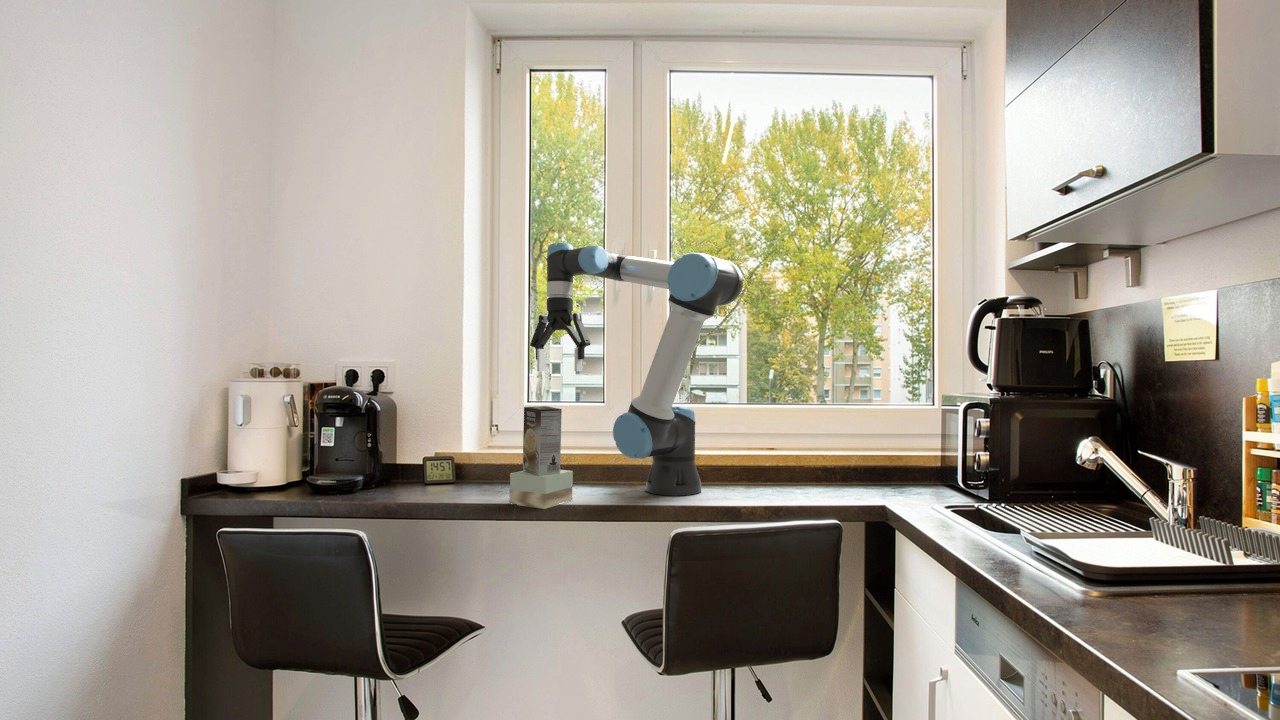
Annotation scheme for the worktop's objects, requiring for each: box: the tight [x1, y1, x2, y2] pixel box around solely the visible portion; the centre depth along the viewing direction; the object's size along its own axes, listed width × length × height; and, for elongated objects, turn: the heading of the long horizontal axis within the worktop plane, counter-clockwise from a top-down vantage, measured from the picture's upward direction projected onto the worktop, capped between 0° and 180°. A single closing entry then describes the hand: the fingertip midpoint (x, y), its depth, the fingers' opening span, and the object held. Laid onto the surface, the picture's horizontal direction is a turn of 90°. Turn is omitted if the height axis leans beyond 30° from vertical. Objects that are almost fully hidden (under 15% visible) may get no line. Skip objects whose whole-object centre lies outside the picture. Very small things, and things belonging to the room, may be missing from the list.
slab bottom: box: [508, 487, 573, 510], centre depth 158 cm, size 11×11×4 cm
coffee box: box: [522, 405, 562, 476], centre depth 157 cm, size 9×6×16 cm
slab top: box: [509, 469, 574, 494], centre depth 157 cm, size 11×11×4 cm
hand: (559, 371), depth 182 cm, fingers open, 13 cm apart
